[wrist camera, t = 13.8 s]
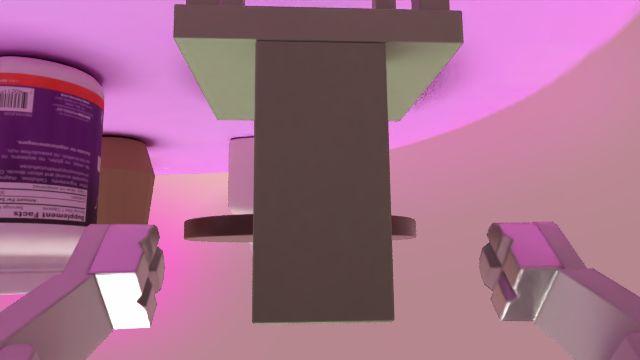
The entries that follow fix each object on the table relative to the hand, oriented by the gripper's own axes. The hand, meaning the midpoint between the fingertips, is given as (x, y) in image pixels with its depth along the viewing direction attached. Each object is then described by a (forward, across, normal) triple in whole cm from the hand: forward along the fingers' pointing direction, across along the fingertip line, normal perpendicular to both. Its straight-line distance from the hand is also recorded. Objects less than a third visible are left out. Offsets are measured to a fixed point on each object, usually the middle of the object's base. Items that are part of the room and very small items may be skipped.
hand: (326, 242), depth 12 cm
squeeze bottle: (+37, +19, +20) cm, 46 cm away
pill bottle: (+23, +18, +6) cm, 30 cm away
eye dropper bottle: (+36, +4, +19) cm, 41 cm away
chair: (+12, 0, -5) cm, 13 cm away
